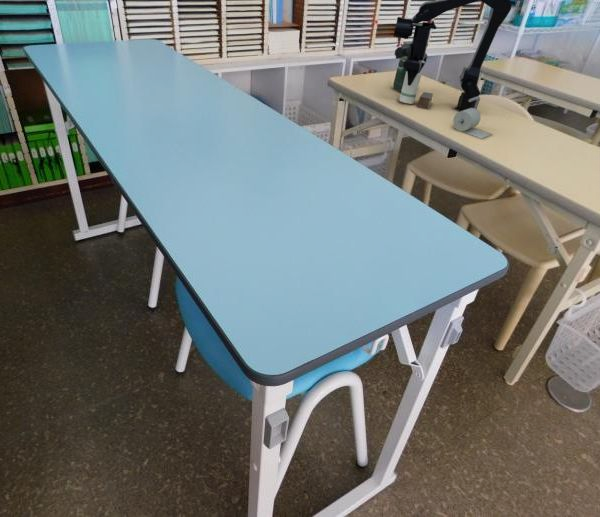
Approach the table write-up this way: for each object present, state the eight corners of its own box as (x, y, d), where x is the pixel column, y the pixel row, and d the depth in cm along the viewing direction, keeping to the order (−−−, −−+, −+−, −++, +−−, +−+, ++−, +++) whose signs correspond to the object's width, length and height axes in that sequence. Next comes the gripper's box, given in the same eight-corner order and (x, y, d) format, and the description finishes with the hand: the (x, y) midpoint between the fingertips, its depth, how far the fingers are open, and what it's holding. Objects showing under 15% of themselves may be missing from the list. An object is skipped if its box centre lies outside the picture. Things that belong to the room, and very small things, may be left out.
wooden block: (430, 103, 182) (433, 93, 179) (427, 109, 175) (430, 98, 173) (421, 101, 183) (423, 91, 180) (417, 107, 176) (419, 96, 174)
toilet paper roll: (493, 133, 159) (463, 122, 165) (504, 102, 152) (472, 93, 159) (479, 139, 152) (448, 128, 159) (490, 108, 146) (457, 97, 152)
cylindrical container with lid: (430, 89, 180) (415, 63, 175) (432, 92, 174) (416, 65, 170) (403, 107, 184) (388, 82, 180) (405, 110, 179) (389, 85, 175)
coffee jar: (416, 93, 192) (427, 46, 181) (400, 93, 190) (410, 46, 179) (405, 86, 200) (414, 41, 189) (389, 87, 197) (398, 41, 186)
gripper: (404, 33, 177) (396, 75, 186) (393, 40, 162) (385, 85, 172) (432, 38, 174) (422, 79, 183) (424, 45, 159) (414, 90, 169)
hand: (410, 83), depth 177 cm, fingers closed on cylindrical container with lid, 6 cm apart
